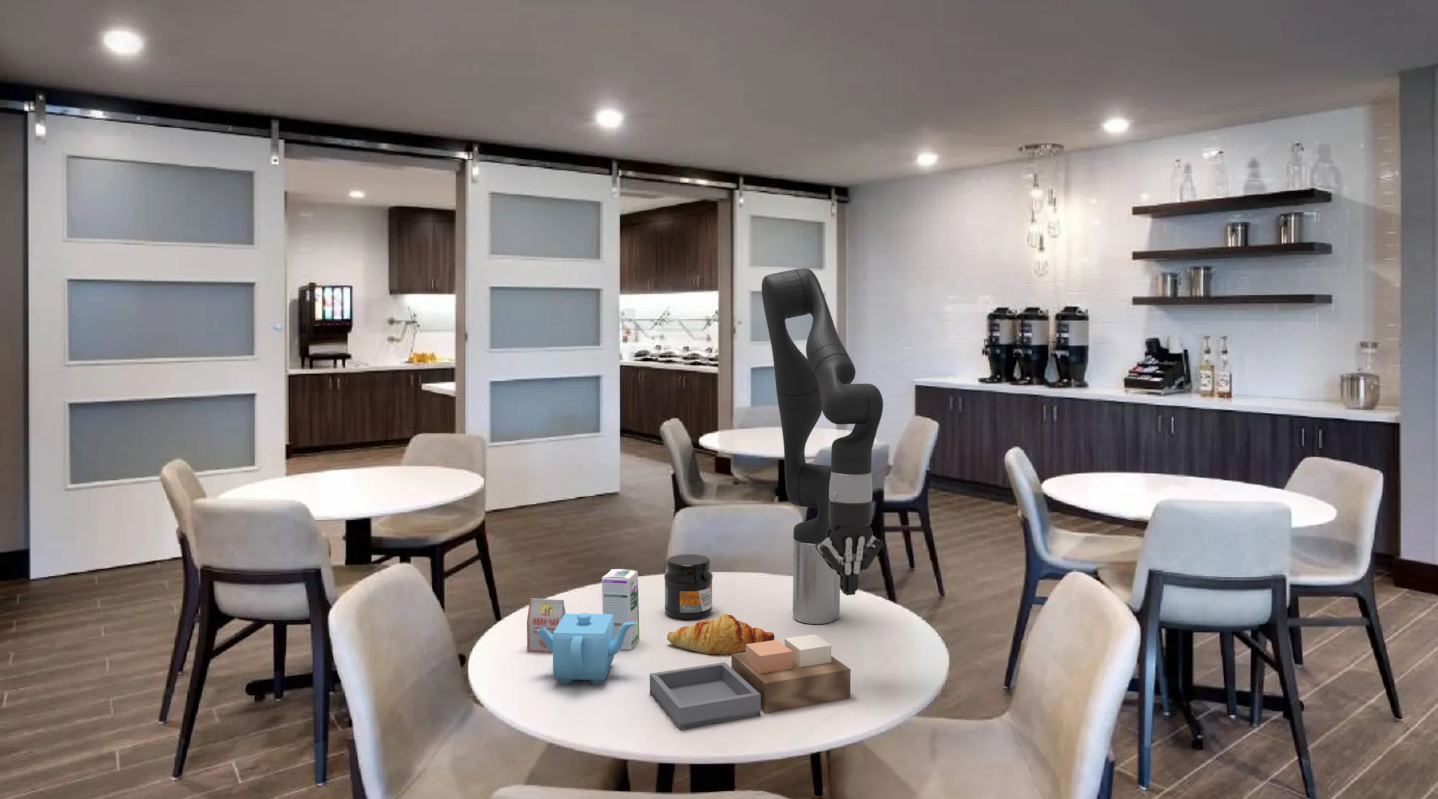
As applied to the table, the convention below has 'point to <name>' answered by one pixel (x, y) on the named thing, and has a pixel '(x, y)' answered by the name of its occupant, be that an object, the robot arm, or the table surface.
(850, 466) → the robot arm
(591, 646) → the teapot
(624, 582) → the syrup box
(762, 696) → the wood grain slab
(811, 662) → the cream tile
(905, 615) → the table surface
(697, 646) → the croissant
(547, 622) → the tea bag
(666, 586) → the supplement container
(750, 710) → the box
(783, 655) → the terracotta tile
